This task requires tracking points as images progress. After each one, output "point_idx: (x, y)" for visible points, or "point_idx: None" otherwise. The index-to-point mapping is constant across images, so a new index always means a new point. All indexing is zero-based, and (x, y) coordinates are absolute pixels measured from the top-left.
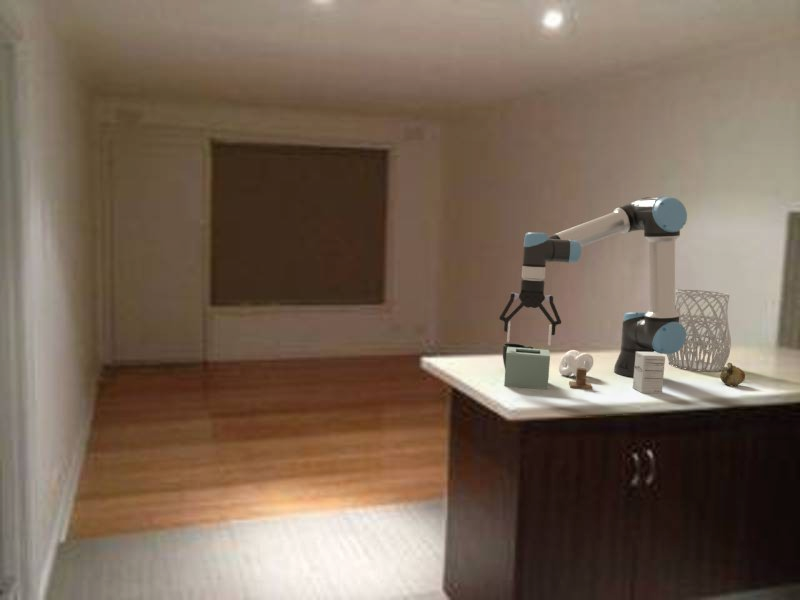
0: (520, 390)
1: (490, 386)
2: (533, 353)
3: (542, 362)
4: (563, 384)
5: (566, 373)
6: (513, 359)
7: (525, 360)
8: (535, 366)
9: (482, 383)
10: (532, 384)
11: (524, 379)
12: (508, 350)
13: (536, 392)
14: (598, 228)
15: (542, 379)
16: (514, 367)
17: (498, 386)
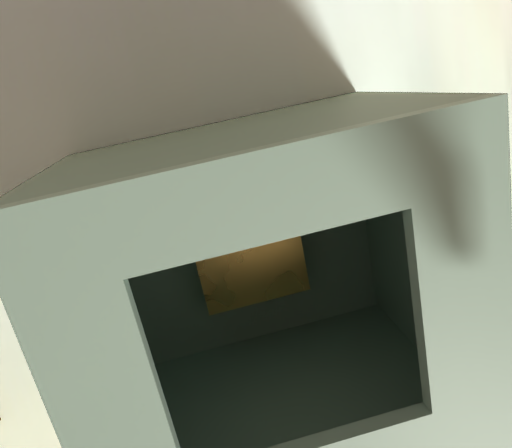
0: (229, 4)
1: (434, 15)
2: (207, 256)
3: (81, 178)
4: (23, 371)
5: None
6: (388, 108)
7: (265, 136)
8: (156, 155)
9: (491, 80)
10: (174, 134)
11: (236, 124)
12: (495, 255)
13: (110, 2)
14: None
15: (98, 155)
16: (343, 108)
17: (387, 48)
